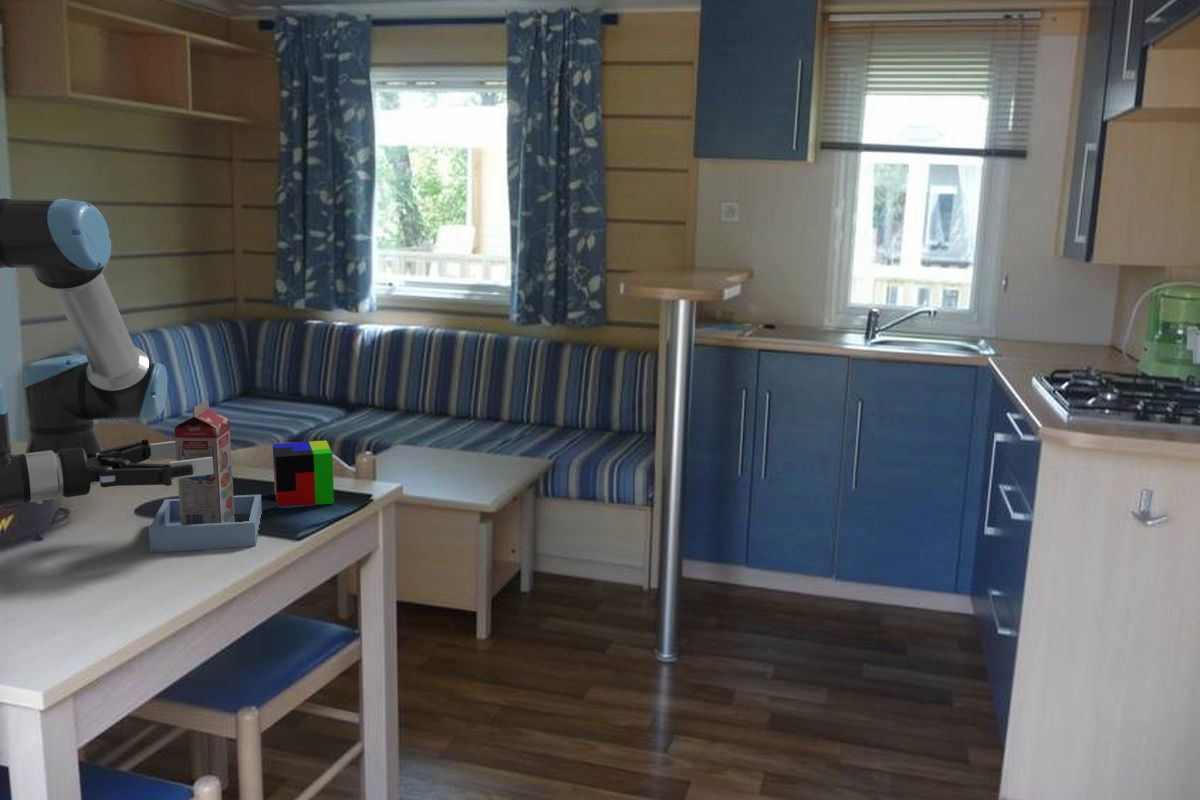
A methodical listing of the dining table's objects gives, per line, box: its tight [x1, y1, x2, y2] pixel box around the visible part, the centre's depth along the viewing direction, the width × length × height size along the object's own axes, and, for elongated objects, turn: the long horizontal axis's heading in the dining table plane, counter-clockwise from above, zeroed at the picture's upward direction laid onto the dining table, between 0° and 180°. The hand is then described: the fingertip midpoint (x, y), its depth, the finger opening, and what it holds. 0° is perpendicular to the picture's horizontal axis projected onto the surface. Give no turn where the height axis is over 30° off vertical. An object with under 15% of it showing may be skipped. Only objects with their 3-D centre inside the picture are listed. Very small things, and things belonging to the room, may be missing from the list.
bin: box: [148, 494, 263, 554], centre depth 169 cm, size 16×16×4 cm
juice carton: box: [174, 399, 235, 525], centre depth 167 cm, size 7×7×22 cm
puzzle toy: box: [272, 439, 335, 507], centre depth 188 cm, size 10×10×10 cm
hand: (201, 455), depth 166 cm, fingers open, 13 cm apart
